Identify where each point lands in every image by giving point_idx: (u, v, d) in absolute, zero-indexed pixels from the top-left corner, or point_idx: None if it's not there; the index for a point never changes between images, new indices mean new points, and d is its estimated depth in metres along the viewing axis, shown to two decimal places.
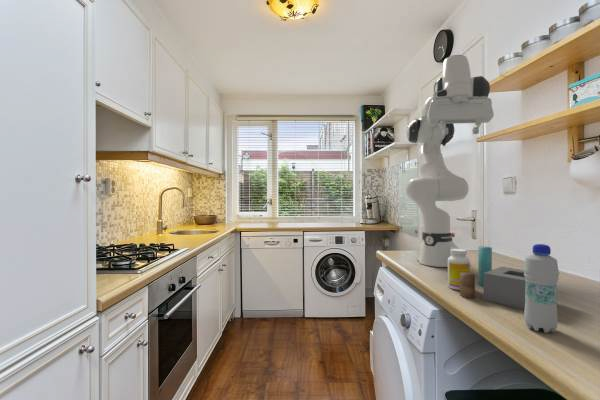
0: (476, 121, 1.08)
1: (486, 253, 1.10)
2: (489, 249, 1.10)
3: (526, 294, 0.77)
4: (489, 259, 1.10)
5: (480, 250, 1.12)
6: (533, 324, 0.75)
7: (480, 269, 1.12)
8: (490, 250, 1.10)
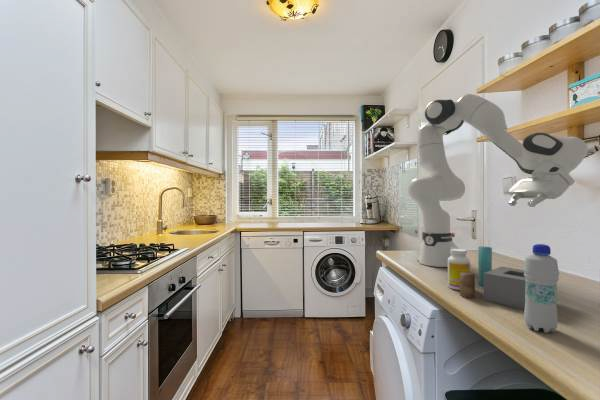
0: (518, 196, 1.17)
1: (486, 253, 1.10)
2: (489, 249, 1.10)
3: (526, 294, 0.77)
4: (489, 259, 1.10)
5: (480, 250, 1.12)
6: (533, 324, 0.75)
7: (480, 269, 1.12)
8: (490, 250, 1.10)
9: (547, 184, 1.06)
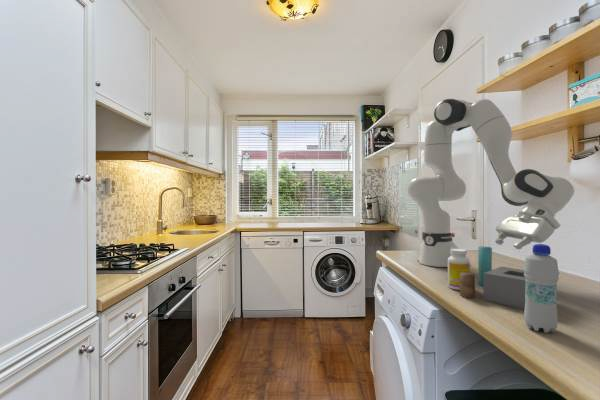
0: (505, 235, 1.18)
1: (486, 253, 1.10)
2: (489, 249, 1.10)
3: (526, 294, 0.77)
4: (489, 259, 1.10)
5: (480, 250, 1.12)
6: (533, 324, 0.75)
7: (480, 269, 1.12)
8: (490, 250, 1.10)
9: (533, 227, 1.06)
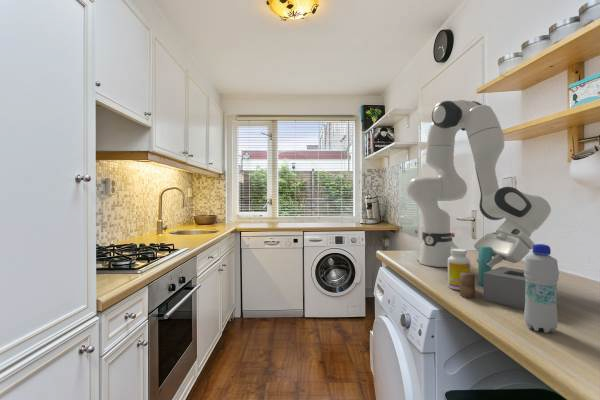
0: None
1: (486, 253, 1.10)
2: (489, 249, 1.10)
3: (526, 294, 0.77)
4: (489, 259, 1.10)
5: (480, 250, 1.12)
6: (533, 324, 0.75)
7: (480, 269, 1.12)
8: (490, 250, 1.10)
9: (508, 247, 1.06)
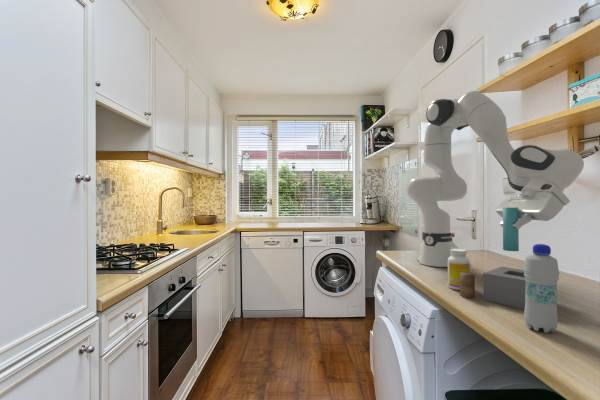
0: None
1: (512, 212, 0.97)
2: (515, 208, 0.97)
3: (526, 294, 0.77)
4: (516, 220, 0.97)
5: (505, 210, 0.98)
6: (533, 324, 0.75)
7: (505, 232, 0.98)
8: (516, 210, 0.97)
9: (538, 204, 0.93)
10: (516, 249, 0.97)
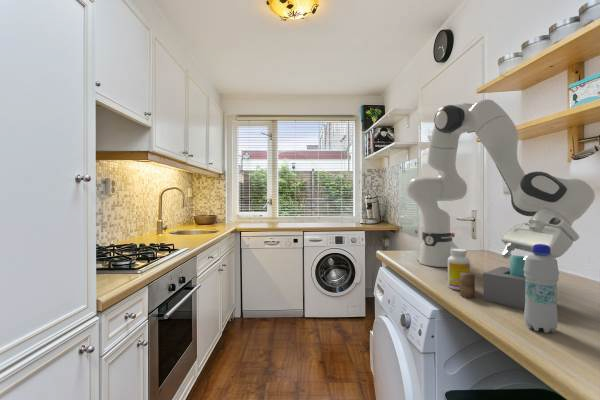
0: (513, 246, 1.01)
1: (520, 263, 0.93)
2: None
3: (526, 294, 0.77)
4: (523, 271, 0.94)
5: (513, 260, 0.95)
6: (533, 324, 0.75)
7: None
8: None
9: (547, 239, 0.89)
10: None
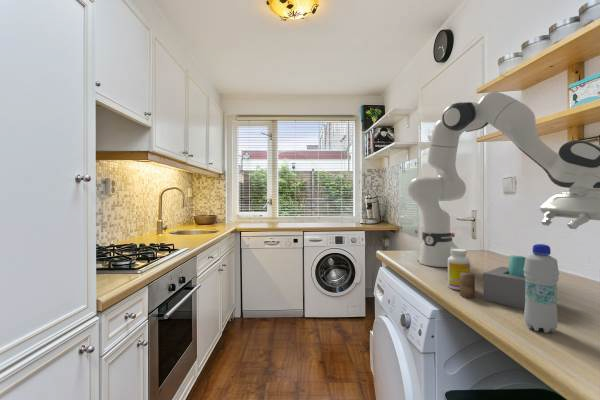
0: (552, 214, 1.01)
1: (519, 263, 0.94)
2: (523, 259, 0.94)
3: (526, 294, 0.77)
4: (523, 271, 0.94)
5: (512, 260, 0.95)
6: (533, 324, 0.75)
7: None
8: (524, 260, 0.94)
9: (592, 202, 0.89)
10: None
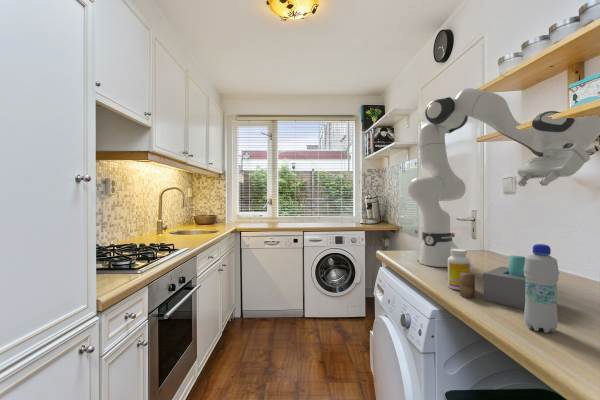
0: (528, 176, 1.11)
1: (519, 263, 0.94)
2: (522, 259, 0.94)
3: (526, 294, 0.77)
4: (522, 271, 0.94)
5: (511, 260, 0.95)
6: (533, 324, 0.75)
7: None
8: (523, 260, 0.94)
9: (561, 161, 0.99)
10: None
